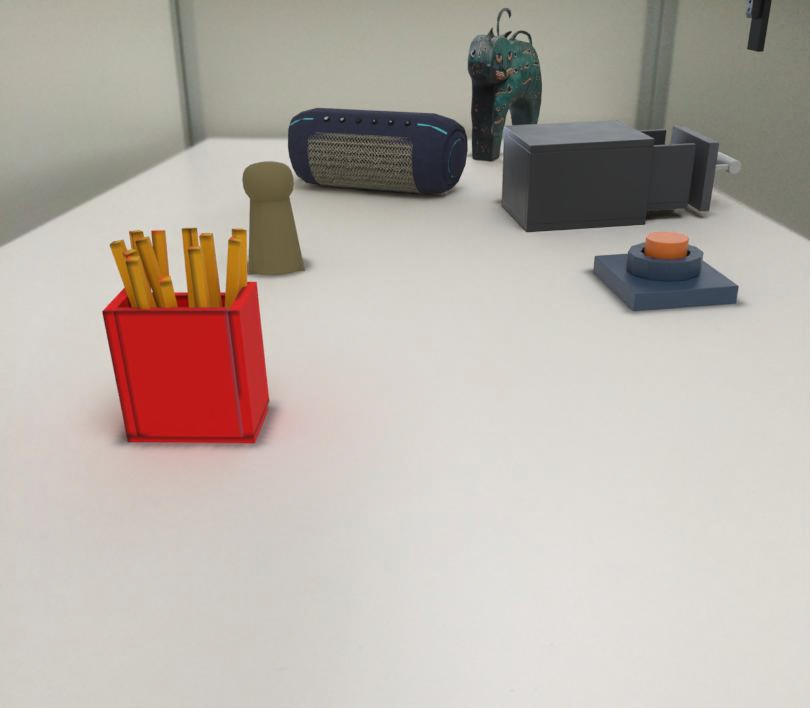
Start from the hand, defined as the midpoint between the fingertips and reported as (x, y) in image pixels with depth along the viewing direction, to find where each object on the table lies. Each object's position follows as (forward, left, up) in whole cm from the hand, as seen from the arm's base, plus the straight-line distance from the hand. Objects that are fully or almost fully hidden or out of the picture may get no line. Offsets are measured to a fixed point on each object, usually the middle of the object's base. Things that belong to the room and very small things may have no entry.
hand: (795, 48), depth 113 cm
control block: (+26, +30, -18) cm, 43 cm away
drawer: (+15, 0, -17) cm, 22 cm away
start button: (+26, +30, -14) cm, 42 cm away
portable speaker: (+48, -19, -18) cm, 55 cm away
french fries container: (+70, +52, -18) cm, 89 cm away
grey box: (+26, 0, -18) cm, 31 cm away
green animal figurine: (+25, -40, -18) cm, 50 cm away
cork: (+63, +15, -18) cm, 67 cm away
